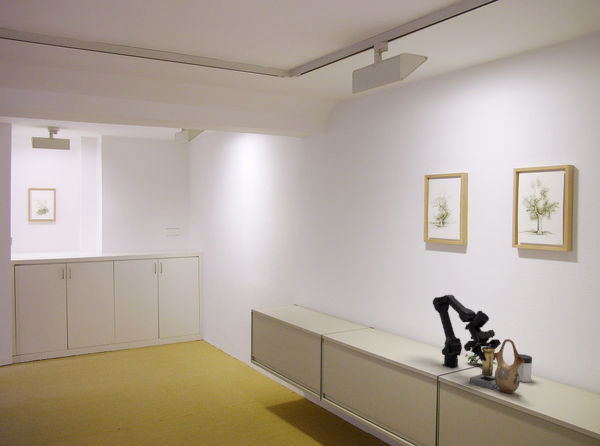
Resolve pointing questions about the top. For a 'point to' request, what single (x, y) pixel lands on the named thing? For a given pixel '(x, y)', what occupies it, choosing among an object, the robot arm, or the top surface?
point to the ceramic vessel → (507, 370)
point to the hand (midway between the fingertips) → (489, 360)
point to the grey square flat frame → (484, 381)
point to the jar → (525, 368)
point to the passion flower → (473, 359)
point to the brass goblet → (488, 361)
